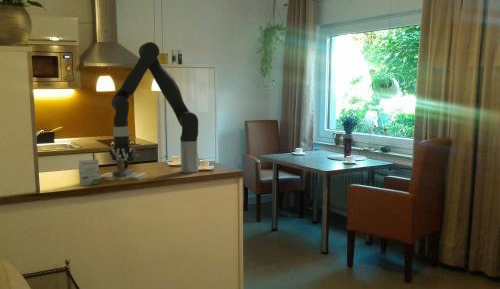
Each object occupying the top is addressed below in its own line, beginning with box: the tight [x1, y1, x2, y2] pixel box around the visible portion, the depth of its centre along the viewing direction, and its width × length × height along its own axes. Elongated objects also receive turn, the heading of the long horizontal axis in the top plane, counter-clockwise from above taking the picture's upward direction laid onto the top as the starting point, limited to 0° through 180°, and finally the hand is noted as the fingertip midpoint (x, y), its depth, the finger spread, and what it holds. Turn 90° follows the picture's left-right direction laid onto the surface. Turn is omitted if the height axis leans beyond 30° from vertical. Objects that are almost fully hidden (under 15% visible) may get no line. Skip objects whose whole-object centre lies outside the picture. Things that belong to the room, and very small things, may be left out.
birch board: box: [99, 172, 148, 181], centre depth 234 cm, size 22×13×2 cm, turn 86°
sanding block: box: [111, 158, 134, 177], centre depth 233 cm, size 7×11×8 cm, turn 176°
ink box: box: [78, 159, 100, 186], centre depth 218 cm, size 8×5×12 cm, turn 119°
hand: (122, 168), depth 233 cm, fingers closed on sanding block, 3 cm apart
